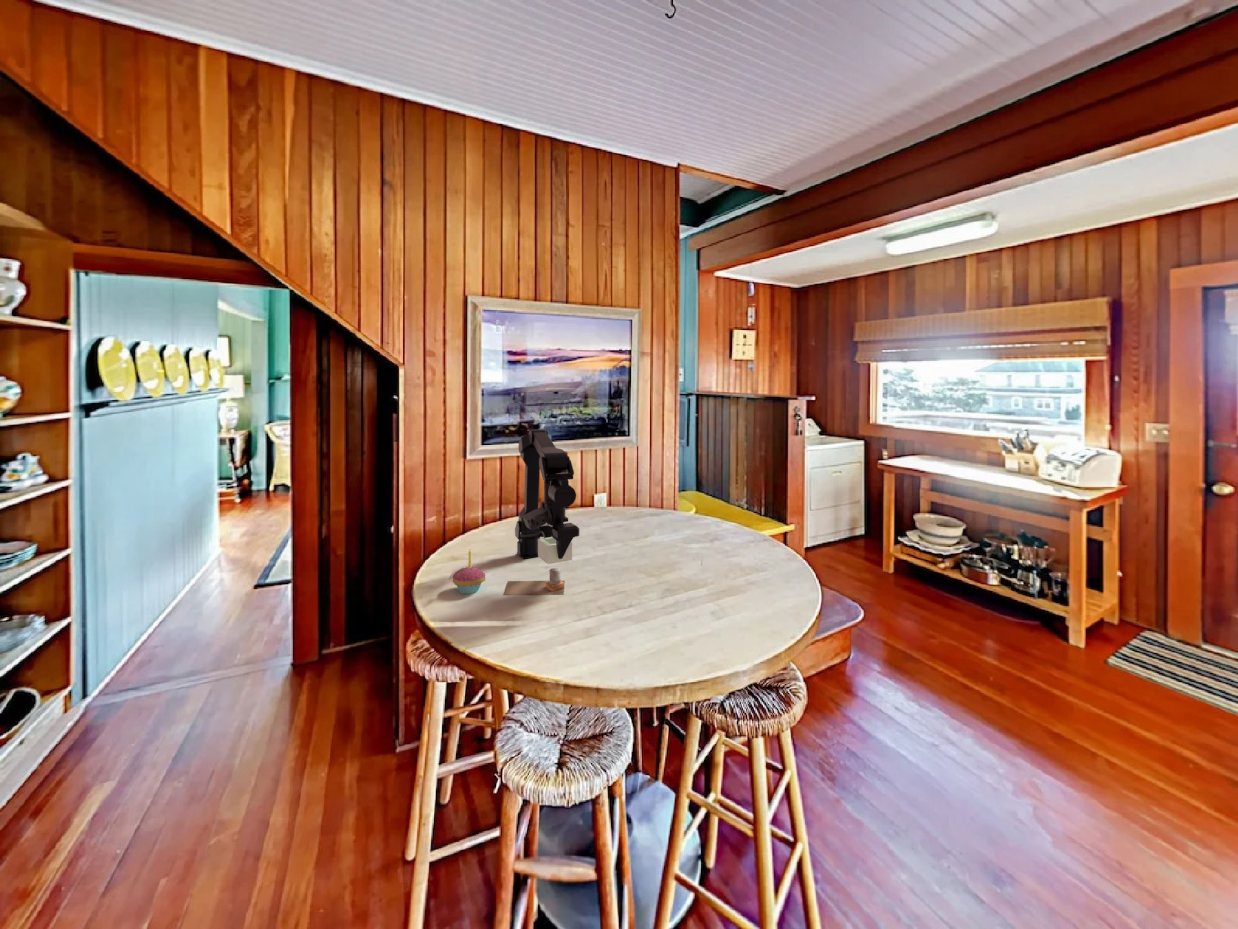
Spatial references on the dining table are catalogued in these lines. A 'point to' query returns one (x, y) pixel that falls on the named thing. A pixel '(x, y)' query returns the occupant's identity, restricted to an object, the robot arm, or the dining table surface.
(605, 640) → the dining table surface
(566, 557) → the square hollow sleeve
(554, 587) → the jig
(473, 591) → the cupcake
